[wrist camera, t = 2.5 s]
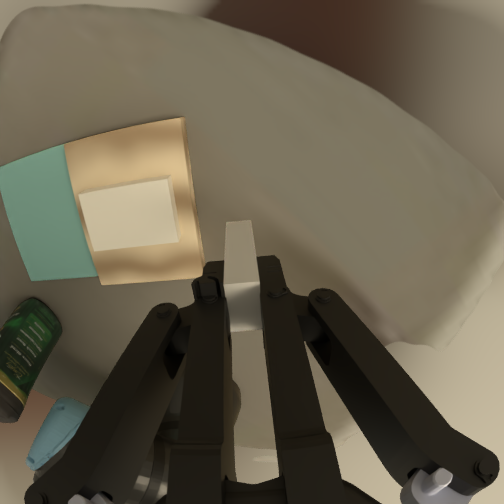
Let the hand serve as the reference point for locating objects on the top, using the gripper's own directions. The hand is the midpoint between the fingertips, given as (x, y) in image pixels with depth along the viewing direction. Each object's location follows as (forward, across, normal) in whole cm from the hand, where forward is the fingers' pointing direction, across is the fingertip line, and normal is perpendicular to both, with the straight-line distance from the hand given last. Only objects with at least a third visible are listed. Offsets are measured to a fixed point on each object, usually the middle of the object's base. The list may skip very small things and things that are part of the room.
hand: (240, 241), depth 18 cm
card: (+9, +10, 0) cm, 14 cm away
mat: (+12, +23, 0) cm, 26 cm away
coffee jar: (+12, +32, +15) cm, 38 cm away
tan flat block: (+12, +10, 0) cm, 16 cm away
